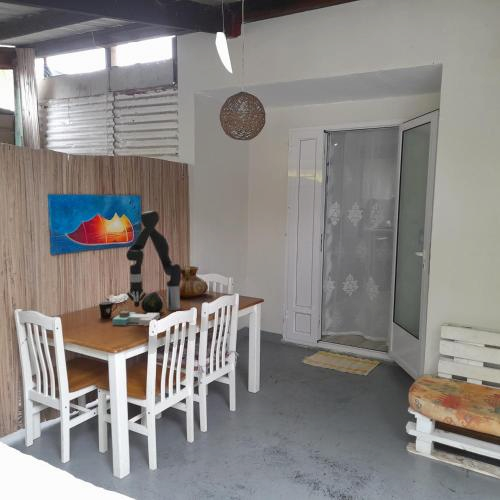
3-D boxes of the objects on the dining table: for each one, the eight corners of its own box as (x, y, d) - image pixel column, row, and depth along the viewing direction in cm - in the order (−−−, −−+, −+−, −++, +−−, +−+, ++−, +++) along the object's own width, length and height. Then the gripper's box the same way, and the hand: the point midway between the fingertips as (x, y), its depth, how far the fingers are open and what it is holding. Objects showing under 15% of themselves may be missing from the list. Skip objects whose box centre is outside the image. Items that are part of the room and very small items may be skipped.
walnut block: (122, 314, 296) (122, 311, 295) (129, 314, 295) (129, 311, 295) (119, 316, 291) (119, 312, 290) (126, 316, 290) (126, 313, 290)
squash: (135, 307, 309) (149, 291, 308) (140, 303, 324) (154, 287, 323) (150, 321, 309) (164, 305, 308) (155, 316, 324) (169, 301, 323)
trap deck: (123, 317, 303) (123, 311, 303) (159, 318, 301) (159, 312, 300) (112, 324, 286) (112, 318, 285) (151, 326, 283) (150, 319, 283)
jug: (166, 294, 378) (165, 264, 375) (199, 290, 392) (199, 262, 389) (178, 301, 352) (177, 269, 349) (213, 297, 366) (213, 267, 363)
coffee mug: (99, 319, 298) (98, 304, 297) (99, 316, 306) (99, 301, 305) (117, 318, 301) (117, 303, 300) (117, 315, 309) (117, 300, 308)
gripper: (147, 279, 293) (148, 305, 295) (128, 279, 294) (129, 305, 296) (144, 281, 286) (145, 308, 288) (123, 281, 287) (125, 308, 289)
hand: (137, 306), depth 292 cm, fingers closed
